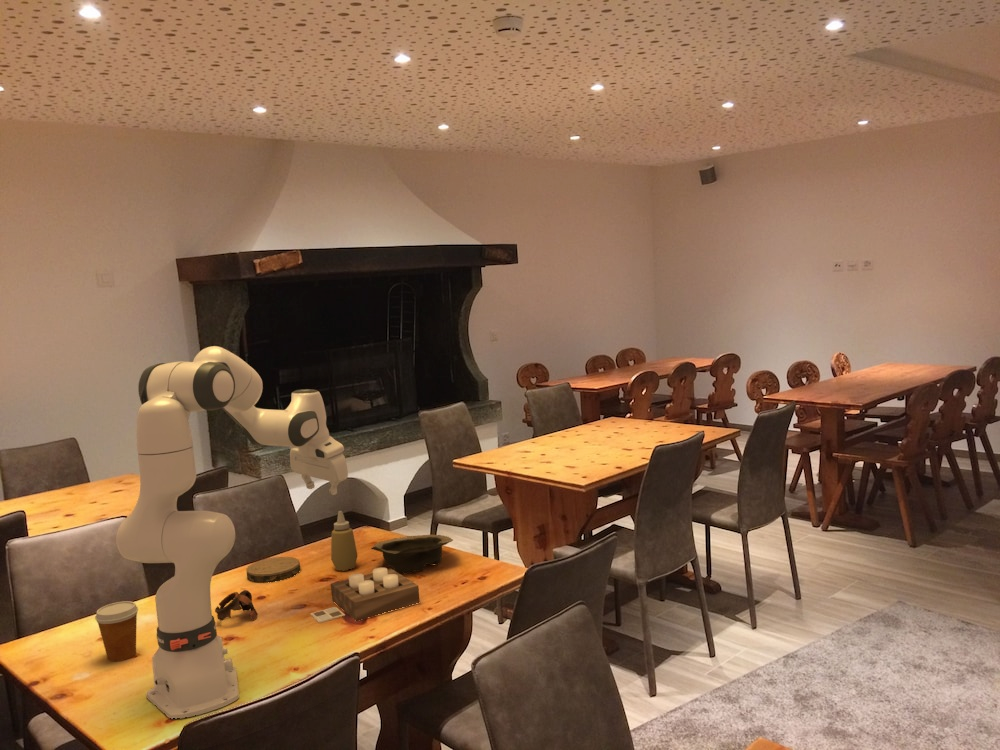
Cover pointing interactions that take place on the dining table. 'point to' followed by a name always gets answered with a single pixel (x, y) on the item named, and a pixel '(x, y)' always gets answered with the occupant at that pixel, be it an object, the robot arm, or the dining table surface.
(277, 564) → the brown wooden disc
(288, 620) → the dining table surface
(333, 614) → the tile
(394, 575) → the button front outer
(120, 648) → the disposable coffee cup
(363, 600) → the button board
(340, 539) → the squeeze bottle
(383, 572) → the beige egg
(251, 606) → the pottery mug
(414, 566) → the stone bowl
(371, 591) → the button front inner
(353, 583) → the egg
